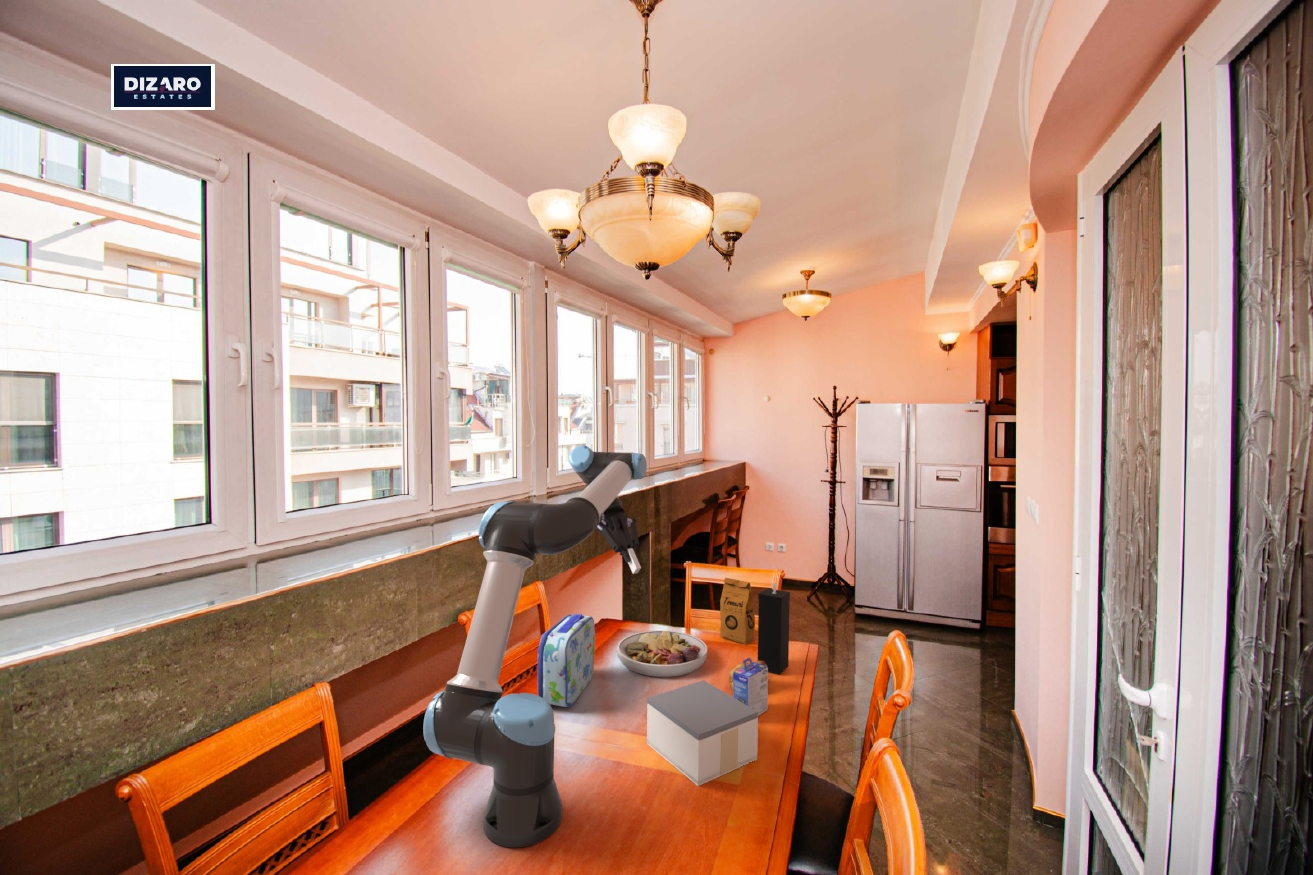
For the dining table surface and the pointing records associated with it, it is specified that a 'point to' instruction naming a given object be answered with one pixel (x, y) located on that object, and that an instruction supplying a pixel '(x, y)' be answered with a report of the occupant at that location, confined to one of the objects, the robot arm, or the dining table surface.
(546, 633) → the lunch box
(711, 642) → the dining table surface
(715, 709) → the box lid
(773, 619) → the black pillar candle
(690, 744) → the storage box
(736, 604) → the coffee package
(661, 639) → the bowl
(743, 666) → the bread roll
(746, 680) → the ink cartridge box
